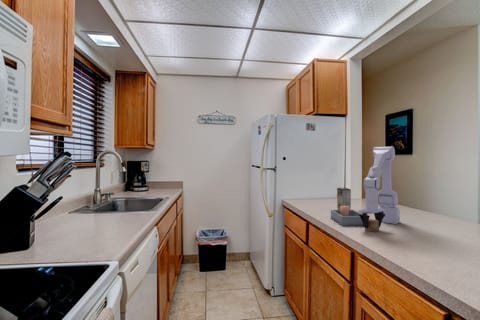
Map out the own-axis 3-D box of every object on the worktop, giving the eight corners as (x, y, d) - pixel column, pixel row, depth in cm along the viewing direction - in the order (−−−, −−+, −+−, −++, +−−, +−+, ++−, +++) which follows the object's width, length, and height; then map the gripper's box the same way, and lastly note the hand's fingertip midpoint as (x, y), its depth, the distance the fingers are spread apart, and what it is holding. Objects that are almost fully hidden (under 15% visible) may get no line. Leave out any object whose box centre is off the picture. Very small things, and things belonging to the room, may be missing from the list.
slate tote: (330, 217, 153) (330, 209, 153) (353, 217, 152) (353, 209, 152) (341, 225, 135) (341, 216, 135) (367, 225, 134) (367, 216, 134)
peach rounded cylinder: (350, 218, 147) (350, 206, 147) (346, 219, 144) (346, 207, 144) (342, 216, 151) (342, 205, 151) (338, 218, 148) (338, 206, 148)
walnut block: (379, 230, 126) (378, 220, 126) (375, 232, 122) (375, 222, 122) (368, 228, 129) (368, 218, 129) (364, 230, 126) (364, 220, 126)
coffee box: (336, 209, 176) (336, 187, 176) (345, 209, 176) (345, 187, 176) (341, 212, 167) (341, 189, 167) (351, 212, 167) (351, 189, 167)
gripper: (377, 199, 131) (377, 224, 131) (354, 200, 128) (354, 226, 128) (388, 201, 124) (388, 228, 124) (363, 202, 121) (364, 230, 121)
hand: (371, 227), depth 126 cm, fingers closed on walnut block, 7 cm apart
